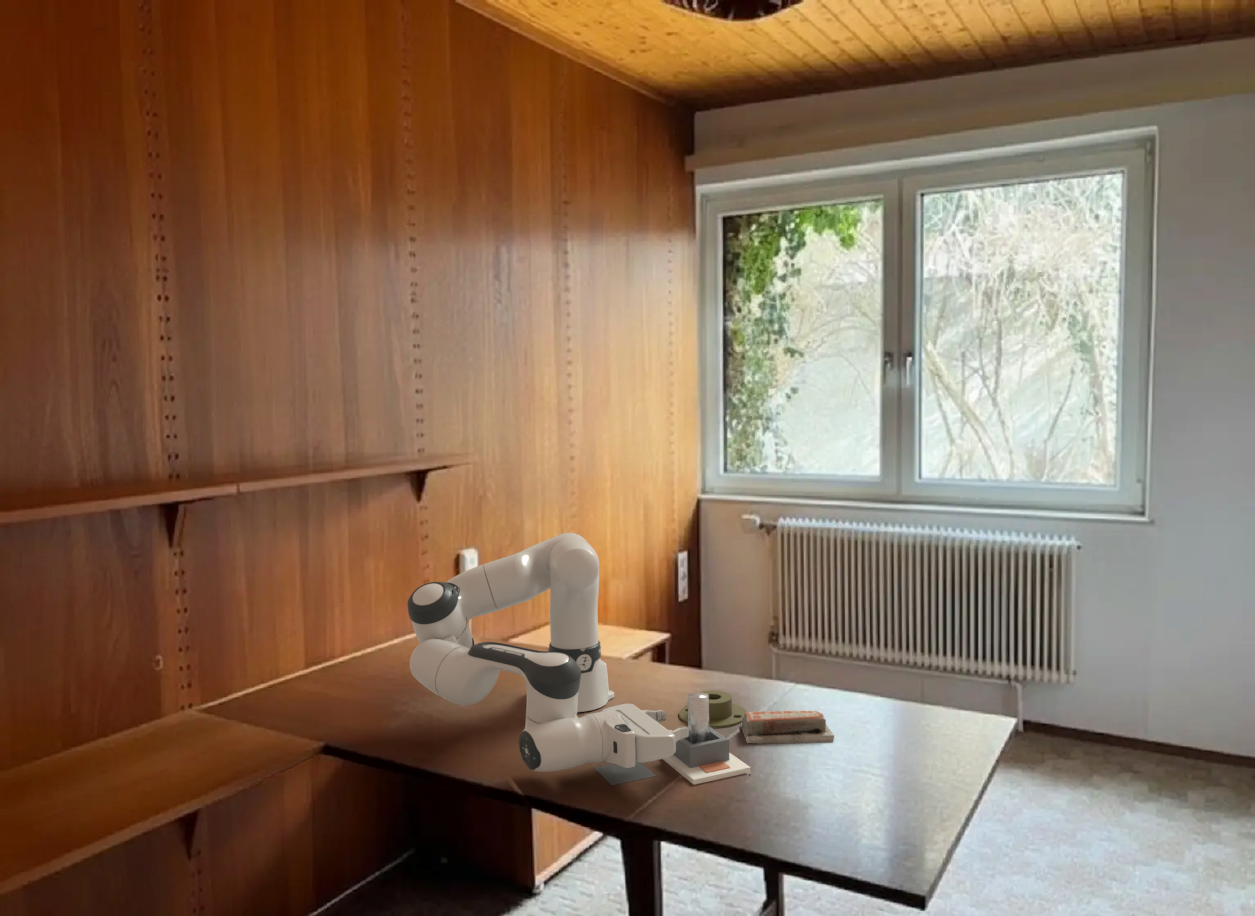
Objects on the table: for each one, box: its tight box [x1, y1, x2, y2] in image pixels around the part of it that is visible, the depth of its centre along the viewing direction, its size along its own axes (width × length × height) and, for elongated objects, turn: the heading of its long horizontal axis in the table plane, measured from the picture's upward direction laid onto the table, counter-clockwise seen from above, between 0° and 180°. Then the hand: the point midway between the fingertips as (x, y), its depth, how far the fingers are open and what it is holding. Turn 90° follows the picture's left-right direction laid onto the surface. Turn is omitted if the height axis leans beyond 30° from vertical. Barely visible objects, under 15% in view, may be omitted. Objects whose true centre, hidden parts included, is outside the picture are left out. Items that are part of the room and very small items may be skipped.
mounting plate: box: [662, 726, 752, 785], centre depth 182 cm, size 18×12×6 cm, turn 24°
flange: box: [678, 689, 748, 729], centre depth 208 cm, size 5×15×15 cm
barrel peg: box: [687, 691, 709, 744], centre depth 181 cm, size 4×4×12 cm
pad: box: [593, 762, 657, 787], centre depth 178 cm, size 9×9×1 cm
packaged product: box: [739, 710, 835, 744], centre depth 196 cm, size 18×5×10 cm
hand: (675, 722), depth 179 cm, fingers open, 8 cm apart
